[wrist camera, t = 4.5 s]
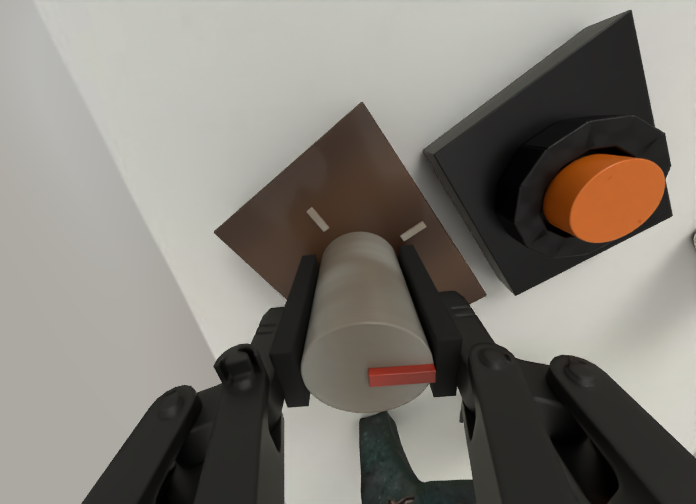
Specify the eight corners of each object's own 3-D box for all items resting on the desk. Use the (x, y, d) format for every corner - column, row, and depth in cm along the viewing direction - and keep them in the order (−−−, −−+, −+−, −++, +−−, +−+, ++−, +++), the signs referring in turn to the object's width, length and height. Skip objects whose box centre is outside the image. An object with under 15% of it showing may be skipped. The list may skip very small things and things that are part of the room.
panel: (234, 214, 16) (211, 233, 14) (359, 105, 14) (362, 100, 11) (355, 333, 21) (357, 366, 18) (466, 270, 18) (488, 297, 15)
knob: (326, 300, 16) (311, 426, 9) (314, 235, 14) (284, 337, 7) (398, 294, 15) (434, 418, 9) (396, 226, 14) (441, 324, 7)
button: (531, 186, 12) (558, 196, 10) (613, 135, 11) (657, 137, 9) (555, 241, 13) (583, 257, 12) (631, 200, 12) (672, 211, 11)
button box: (421, 150, 15) (445, 159, 11) (586, 26, 12) (686, -14, 9) (498, 278, 19) (533, 315, 15) (634, 204, 16) (715, 228, 13)
